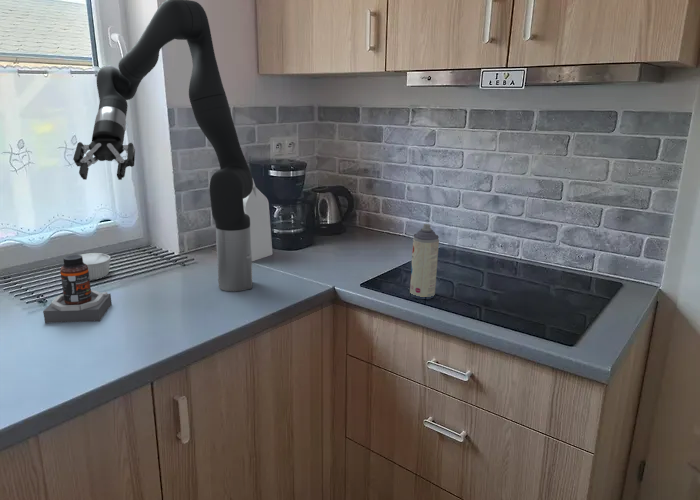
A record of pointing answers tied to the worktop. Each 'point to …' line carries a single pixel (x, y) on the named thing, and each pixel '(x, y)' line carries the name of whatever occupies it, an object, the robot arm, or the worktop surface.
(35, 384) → the worktop surface
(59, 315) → the octagonal shallow tray
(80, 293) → the supplement bottle
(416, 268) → the aerosol can
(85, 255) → the ramekin
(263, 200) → the milk
